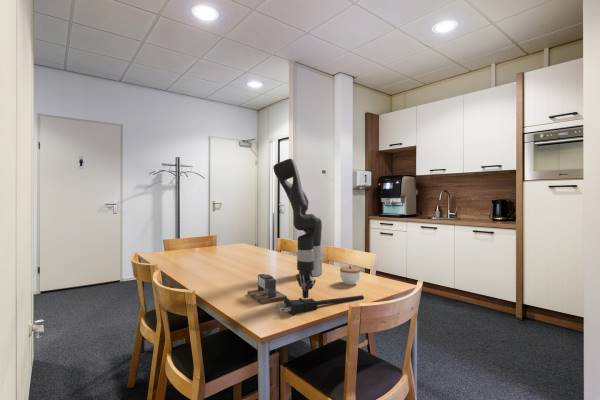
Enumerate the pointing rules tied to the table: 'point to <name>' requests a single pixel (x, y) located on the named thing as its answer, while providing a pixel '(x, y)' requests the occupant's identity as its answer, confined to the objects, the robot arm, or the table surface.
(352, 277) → the lidded jar
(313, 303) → the electrical plug
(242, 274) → the table surface
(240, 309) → the table surface
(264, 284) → the cutter head
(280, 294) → the cutter stand
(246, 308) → the table surface
